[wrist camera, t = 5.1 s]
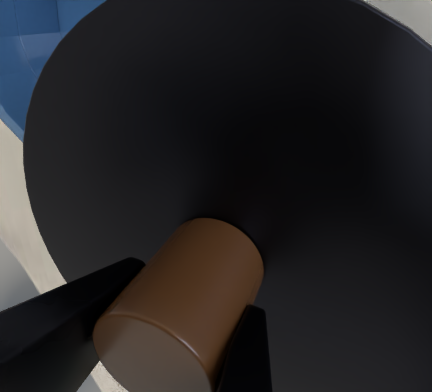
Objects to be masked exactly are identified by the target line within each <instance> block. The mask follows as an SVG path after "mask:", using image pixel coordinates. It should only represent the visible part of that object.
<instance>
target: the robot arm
mask: <svg viewBox="0 0 432 392" xmlns="http://www.w3.org/2000/svg"><path fill="white" fill-rule="evenodd" d="M144 266H145V262H143V261H142V260H139V259H137V258H134V257H128V258H126V259H123V260H121V261H118V262H116V263H114V264H111V265H109V266H107V267H104V268H102V269H100V270H97V271H95V272H93V273H90V274H88V275H86V276H83V277H81V278H78V279H76V280H74V281H71V282H69V283H67V284H64V285H62V286H60V287H57V288H55V289H53V290H50V291H48V292H46V293H43V294H41V295H39V296H36V297H34V298H32V299H29V300H27V301H25V302H22V303H20V304H18V305H15V306H13V307H10V308H8V309H6V310H3V311H1V312H0V392H76V391H77V390H78V389H79V387H80V386H81V385H82V383H83V382H84V380H85V379H86V378H87V377H88V375H89V374H90V373H91V371H92V370H93V369H94V367H95V366H96V365H97V363H98V362H99V361H100V359H99V358H98V356H97V354H96V351H95V349H94V345H93V340H92V332H93V328H94V325H95V323H96V321H97V320H98V318H99V317H100V316H101V315H102V314H103V313H104V312H105V310H106V309H107V308H108V307H109V306H110V305H111V304H112V302H113V301H114V300H115V299H116V298H117V297H118V296H119V294H120V293H121V292H122V291H123V290H124V289H125V288H126V286H127V285H128V284H129V283H130V282H131V281H132V280H133V278H134V277H135V276H136V275H137V274H138V273H139V272H140V270H141V269H142V268H143V267H144ZM218 392H273V390H272V379H271V367H270V356H269V345H268V333H267V322H266V312H265V310H264V309H262V308H259V307H257V306H254V305H252V304H250V305H248V307H247V309H246V311H245V313H244V315H243V318H242V320H241V322H240V324H239V326H238V328H237V331H236V333H235V335H234V337H233V339H232V342H231V344H230V347H229V350H228V354H227V358H226V362H225V366H224V370H223V374H222V378H221V382H220V386H219V389H218Z"/></svg>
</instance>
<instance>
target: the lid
mask: <svg viewBox="0 0 432 392" xmlns="http://www.w3.org/2000/svg"><path fill="white" fill-rule="evenodd" d="M23 165H24V172H25V180H26V188H27V192H28V196H29V200H30V204H31V209H32V212H33V215H34V218H35V221H36V223H37V226H38V229H39V232H40V234H41V236H42V239H43V241H44V243H45V245H46V247H47V250H48V252H49V254H50V256H51V257H52V259H53V261H54V263H55V265H56V266H57V268H58V270H59V272H60V273H61V275H62V276H63V278H64V279H65V281H66V282H67V283H69V282H71V281H74V280H76V279H78V278H81V277H83V276H86V275H88V274H90V273H93V272H95V271H97V270H100V269H102V268H104V267H107V266H109V265H111V264H114V263H116V262H118V261H121V260H123V259H126V258H128V257H134V258H137V259H139V260H142V261H143V262H145V266H144V267H143V268H142V269H141V270H140V272H139V273H138V274H137V275H136V276H135V277H134V278H133V280H132V281H131V282H130V283H129V284H128V285H127V286H126V288H125V289H124V290H123V291H122V292H121V293H120V294H119V296H118V297H117V298H116V299H115V300H114V301H113V302H112V304H111V305H110V306H109V307H108V308H107V309H106V310H105V312H104V313H103V314H102V315H101V316H100V317H99V318H98V320H97V321H96V323H95V325H94V328H93V332H92V340H93V345H94V349H95V351H96V354H97V356H98V358H99V359H100V361H101V363H102V364H103V366H104V367H105V368H106V370H107V371H108V372H109V373H110V374H111V376H112V377H113V378H114V379H115V380H116V381H117V382H118V383H119V384H120V385H122V386H123V387H124V388H125V389H126V390H128V391H129V392H218V389H219V386H220V382H221V378H222V374H223V370H224V366H225V362H226V358H227V354H228V350H229V347H230V344H231V342H232V339H233V337H234V335H235V333H236V331H237V328H238V326H239V324H240V322H241V320H242V318H243V315H244V313H245V311H246V309H247V307H248V305H250V304H252V305H254V306H257V307H259V308H262V309H264V310H265V312H266V322H267V333H268V345H269V356H270V367H271V379H272V390H273V392H432V46H431V45H429V44H428V43H427V42H426V41H425V40H423V39H422V38H421V37H420V36H419V35H417V34H416V33H415V32H414V31H413V30H411V29H410V28H409V27H408V26H406V25H404V24H403V23H401V22H399V21H397V20H396V19H394V18H392V17H391V16H389V15H387V14H386V13H384V12H382V11H381V10H379V9H377V8H376V7H374V6H372V5H371V4H369V3H367V2H366V1H363V0H106V1H105V2H103V3H102V4H101V5H99V6H98V7H97V8H95V9H94V10H92V11H91V12H90V13H88V14H87V15H86V16H84V17H83V18H82V19H81V20H80V21H79V22H78V23H77V24H76V25H75V26H74V27H73V28H72V29H71V30H70V31H69V32H68V33H67V34H66V35H65V37H64V38H63V39H62V40H61V41H60V42H59V43H58V45H57V46H56V48H55V49H54V51H53V52H52V54H51V55H50V57H49V58H48V60H47V62H46V63H45V65H44V66H43V68H42V71H41V73H40V75H39V78H38V80H37V82H36V84H35V87H34V89H33V92H32V95H31V99H30V103H29V107H28V110H27V114H26V121H25V129H24V137H23Z"/></svg>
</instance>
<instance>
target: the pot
mask: <svg viewBox="0 0 432 392" xmlns="http://www.w3.org/2000/svg"><path fill="white" fill-rule="evenodd" d="M105 1H106V0H0V119H1V120H2V121H3V122H4V124H5V125H6V126H7V127H8V128H9V129H10V130H11V131H12V132H13V133H14V134H15V135H16V136H17V137H18V138H19V139H20V140H21V141H22V142H23V137H24V129H25V121H26V114H27V110H28V107H29V103H30V99H31V95H32V92H33V89H34V87H35V84H36V82H37V80H38V78H39V75H40V73H41V71H42V68H43V66H44V65H45V63H46V62H47V60H48V58H49V57H50V55H51V54H52V52H53V51H54V49H55V48H56V46H57V45H58V43H59V42H60V41H61V40H62V39H63V38H64V37H65V35H66V34H67V33H68V32H69V31H70V30H71V29H72V28H73V27H74V26H75V25H76V24H77V23H78V22H79V21H80V20H81V19H82V18H83V17H84V16H86V15H87V14H88V13H90V12H91V11H92V10H94V9H95V8H97V7H98V6H99V5H101V4H102V3H103V2H105Z"/></svg>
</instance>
